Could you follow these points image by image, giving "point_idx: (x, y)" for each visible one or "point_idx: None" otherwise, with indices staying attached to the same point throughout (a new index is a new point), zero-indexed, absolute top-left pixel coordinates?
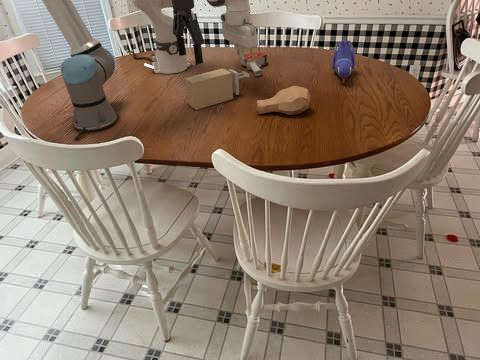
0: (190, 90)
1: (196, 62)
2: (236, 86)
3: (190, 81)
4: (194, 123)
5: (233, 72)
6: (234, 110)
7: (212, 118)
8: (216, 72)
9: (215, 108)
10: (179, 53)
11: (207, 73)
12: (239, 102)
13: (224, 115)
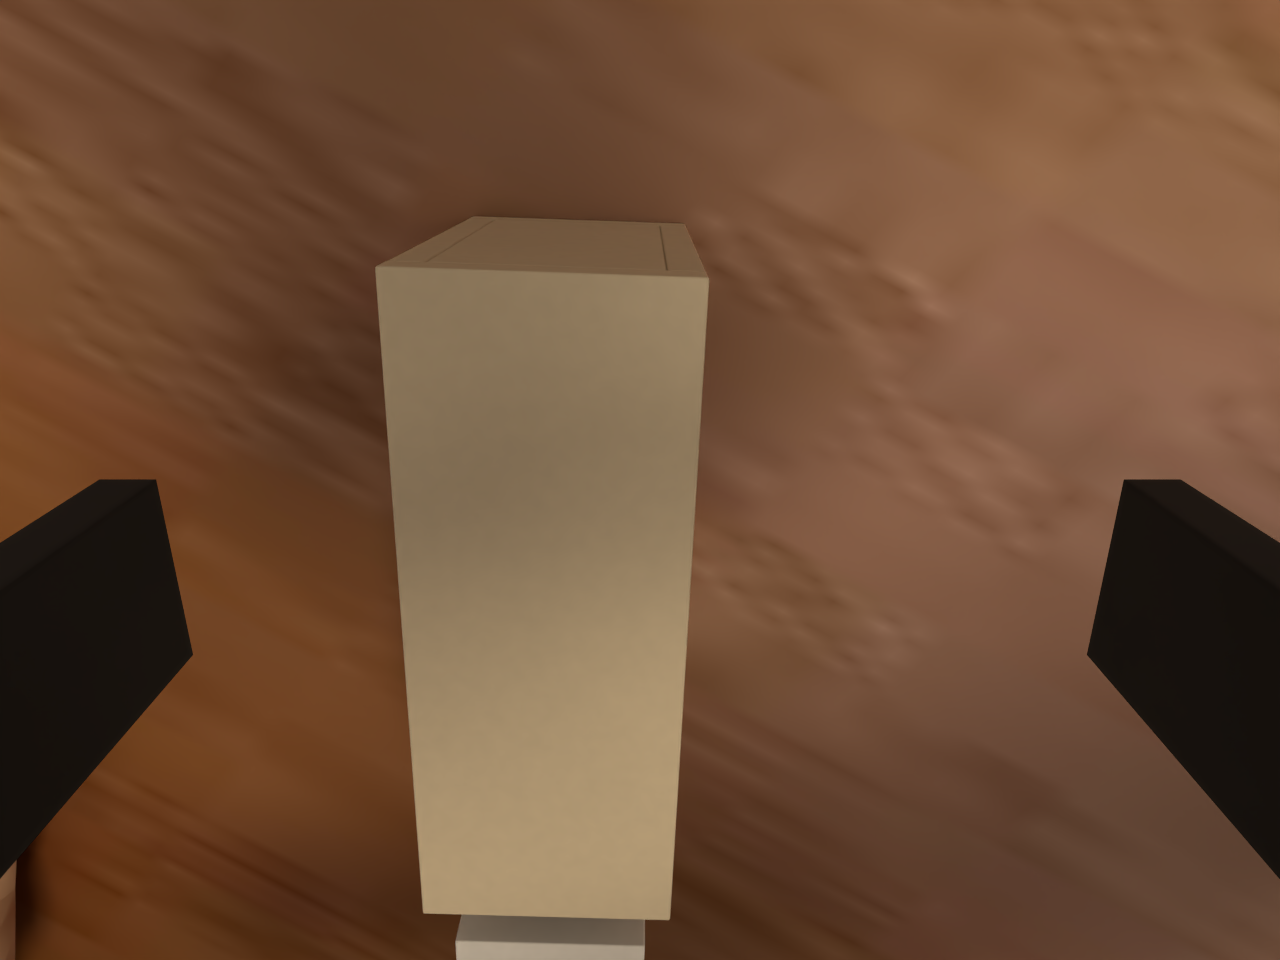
0: (530, 247)
1: (65, 505)
2: None
3: (467, 278)
4: (118, 9)
5: (506, 941)
6: (215, 547)
7: (144, 262)
8: (577, 782)
9: (376, 421)
10: (1178, 507)
11: (634, 671)
12: (369, 679)
13: (151, 407)
